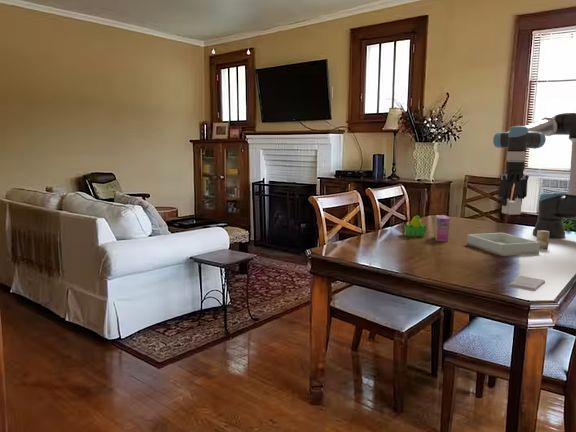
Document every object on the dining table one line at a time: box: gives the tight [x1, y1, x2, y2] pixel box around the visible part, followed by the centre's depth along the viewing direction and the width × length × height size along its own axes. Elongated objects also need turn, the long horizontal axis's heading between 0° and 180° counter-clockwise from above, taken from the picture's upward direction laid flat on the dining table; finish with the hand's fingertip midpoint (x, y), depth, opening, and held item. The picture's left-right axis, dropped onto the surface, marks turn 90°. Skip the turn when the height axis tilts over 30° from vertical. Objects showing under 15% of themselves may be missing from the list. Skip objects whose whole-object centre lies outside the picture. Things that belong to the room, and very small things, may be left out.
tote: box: [466, 232, 540, 257], centre depth 215 cm, size 20×24×5 cm
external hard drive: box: [508, 275, 546, 292], centre depth 161 cm, size 2×8×12 cm
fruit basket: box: [403, 215, 428, 238], centre depth 245 cm, size 11×9×11 cm
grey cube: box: [501, 200, 523, 216], centre depth 209 cm, size 6×6×6 cm
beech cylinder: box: [535, 230, 550, 250], centre depth 217 cm, size 5×5×8 cm
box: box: [434, 214, 450, 243], centre depth 236 cm, size 10×6×12 cm, turn 168°
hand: (511, 212), depth 210 cm, fingers closed on grey cube, 5 cm apart
